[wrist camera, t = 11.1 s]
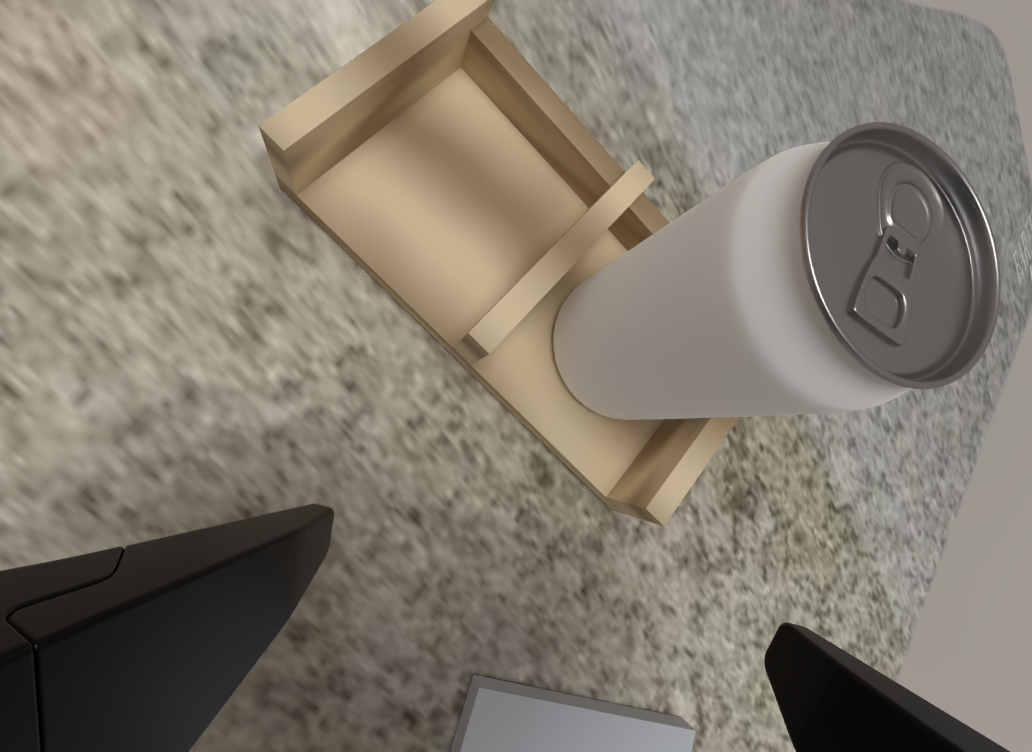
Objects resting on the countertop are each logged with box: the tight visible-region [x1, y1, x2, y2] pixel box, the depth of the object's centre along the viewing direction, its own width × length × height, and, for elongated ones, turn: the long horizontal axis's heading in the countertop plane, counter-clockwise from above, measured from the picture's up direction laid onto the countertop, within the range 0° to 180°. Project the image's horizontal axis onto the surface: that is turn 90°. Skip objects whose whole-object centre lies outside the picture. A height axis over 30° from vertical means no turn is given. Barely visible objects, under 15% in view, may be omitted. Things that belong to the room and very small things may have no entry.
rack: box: [259, 0, 739, 526], centre depth 19 cm, size 10×19×4 cm, turn 47°
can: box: [553, 122, 1001, 420], centre depth 15 cm, size 6×6×12 cm
